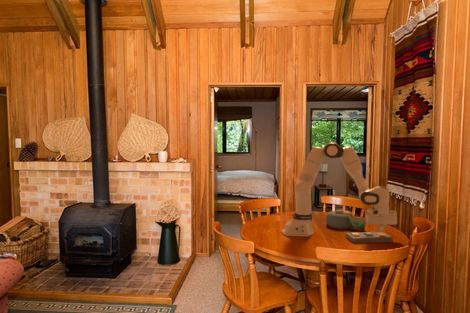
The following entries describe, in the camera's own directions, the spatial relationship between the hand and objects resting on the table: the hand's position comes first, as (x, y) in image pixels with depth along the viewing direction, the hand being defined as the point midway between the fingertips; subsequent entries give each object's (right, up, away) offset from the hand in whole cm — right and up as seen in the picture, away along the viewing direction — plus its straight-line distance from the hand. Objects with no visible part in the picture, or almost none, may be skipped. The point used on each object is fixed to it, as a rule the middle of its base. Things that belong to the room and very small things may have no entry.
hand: (380, 230), depth 197 cm
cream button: (-17, -3, -1) cm, 18 cm away
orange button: (+1, -4, 0) cm, 4 cm away
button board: (-8, -6, 0) cm, 10 cm away
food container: (-7, -5, +20) cm, 22 cm away
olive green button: (-8, -3, 0) cm, 9 cm away
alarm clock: (-16, -5, +33) cm, 37 cm away
